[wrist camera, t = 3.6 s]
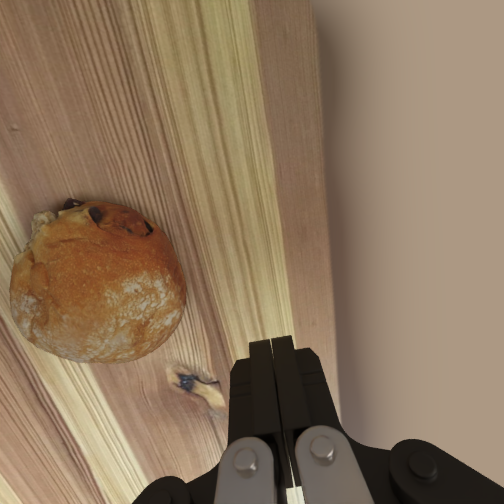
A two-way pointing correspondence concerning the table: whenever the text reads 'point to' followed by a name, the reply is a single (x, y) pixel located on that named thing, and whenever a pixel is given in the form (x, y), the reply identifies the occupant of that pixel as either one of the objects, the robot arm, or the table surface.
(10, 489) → the table surface
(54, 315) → the bread roll
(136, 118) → the table surface
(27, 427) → the table surface
